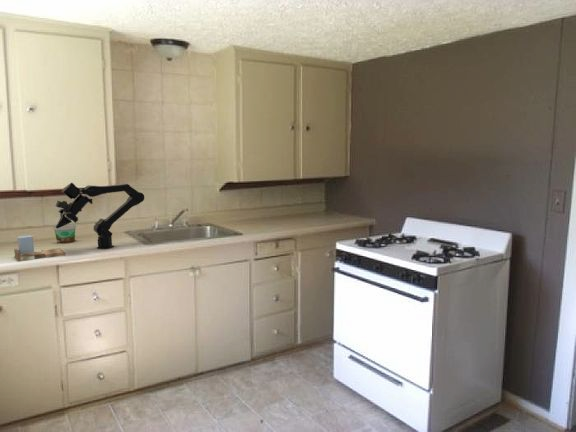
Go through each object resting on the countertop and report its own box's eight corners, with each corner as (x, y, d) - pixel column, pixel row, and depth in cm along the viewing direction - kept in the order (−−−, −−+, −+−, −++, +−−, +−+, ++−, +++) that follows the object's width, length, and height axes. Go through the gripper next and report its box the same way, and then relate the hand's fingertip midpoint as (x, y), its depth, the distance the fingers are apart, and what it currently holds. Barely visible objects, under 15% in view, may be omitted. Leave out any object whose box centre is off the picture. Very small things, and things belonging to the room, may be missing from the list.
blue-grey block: (32, 252, 237) (31, 235, 235) (34, 254, 233) (32, 236, 231) (19, 254, 233) (17, 236, 232) (20, 256, 229) (18, 238, 228)
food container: (56, 244, 264) (54, 227, 262) (54, 243, 269) (52, 225, 267) (79, 242, 271) (78, 225, 269) (77, 240, 276) (76, 223, 274)
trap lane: (60, 251, 248) (59, 243, 247) (65, 255, 238) (64, 247, 238) (14, 256, 235) (14, 248, 235) (18, 261, 226) (17, 253, 225)
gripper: (61, 193, 248) (39, 215, 243) (69, 196, 233) (46, 220, 228) (78, 206, 254) (57, 229, 249) (87, 210, 239) (65, 234, 234)
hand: (56, 227), depth 240 cm, fingers closed
